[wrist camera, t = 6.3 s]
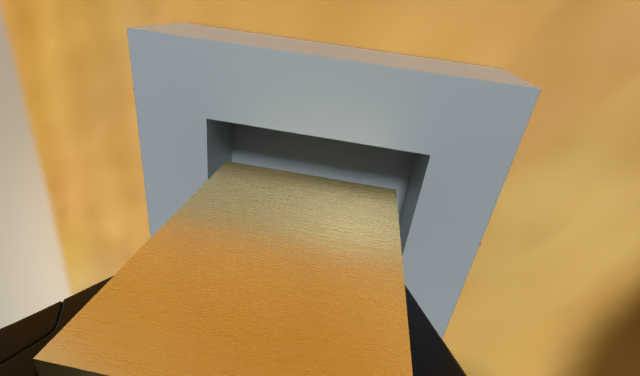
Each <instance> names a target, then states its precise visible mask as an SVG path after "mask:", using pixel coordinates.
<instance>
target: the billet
mask: <svg viewBox="0 0 640 376" xmlns="http://www.w3.org/2000/svg"><path fill="white" fill-rule="evenodd" d="M33 360H34V363H35V365H36V368H37V371H38V374H39V376H413V372H412V361H411V350H410V339H409V328H408V317H407V306H406V294H405V283H404V272H403V261H402V250H401V239H400V228H399V217H398V206H397V195H396V190H395V189H389V188H383V187H377V186H372V185H366V184H360V183H354V182H348V181H342V180H337V179H331V178H325V177H319V176H313V175H308V174H302V173H296V172H290V171H284V170H278V169H273V168H267V167H261V166H255V165H249V164H243V163H238V162H232V161H226V162H225V163H224V164H223V165H222V166H221V167H220V168H219V169H218V170H217V171H216V172H215V173H214V174H213V175H212V176H211V177H210V178H209V179H208V180H207V181H206V182H205V183H204V184H203V185H202V186H201V187H200V188H199V189H198V191H197V192H196V193H195V194H194V195H193V196H192V197H191V198H190V199H189V200H188V201H187V202H186V203H185V204H184V205H183V206H182V207H181V208H180V209H179V210H178V211H177V212H176V213H175V214H174V215H173V216H172V217H171V218H170V219H169V220H168V221H167V222H166V223H165V224H164V225H163V226H162V227H161V228H160V229H159V230H158V231H157V232H156V233H155V234H154V235H153V236H152V238H151V239H150V240H149V241H148V242H147V243H146V244H145V245H144V246H143V247H142V248H141V249H140V250H139V251H138V252H137V253H136V254H135V255H134V256H133V257H132V258H131V259H130V260H129V261H128V262H127V263H126V264H125V265H124V266H123V267H122V268H121V269H120V270H119V271H118V272H117V273H116V274H115V275H114V276H113V277H112V278H111V279H110V280H109V281H108V282H107V284H106V285H105V286H104V287H103V288H102V289H101V290H100V291H99V292H98V293H97V294H96V295H95V296H94V297H93V298H92V299H91V300H90V301H89V302H88V303H87V304H86V305H85V306H84V307H83V308H82V309H81V310H80V311H79V312H78V313H77V314H76V315H75V316H74V317H73V318H72V319H71V320H70V321H69V322H68V323H67V324H66V325H65V326H64V327H63V328H62V330H61V331H60V332H59V333H58V334H57V335H56V336H55V337H54V338H53V339H52V340H51V341H50V342H49V343H48V344H47V345H46V346H45V347H44V348H43V349H42V350H41V351H40V352H39V353H38V354H37V355H36V356H35V357H34V358H33Z"/></svg>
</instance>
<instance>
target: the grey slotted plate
mask: <svg viewBox="0 0 640 376" xmlns="http://www.w3.org/2000/svg"><path fill="white" fill-rule="evenodd" d="M127 33H128V42H129V51H130V60H131V68H132V77H133V86H134V95H135V103H136V112H137V121H138V130H139V139H140V147H141V156H142V165H143V174H144V182H145V191H146V200H147V209H148V218H149V226H150V235H151V238H152V236H153V235H154V234H155V233H156V232H157V231H158V230H159V229H160V228H161V227H162V226H163V225H164V224H165V223H166V222H167V221H168V220H169V219H170V218H171V217H172V216H173V215H174V214H175V213H176V212H177V211H178V210H179V209H180V208H181V207H182V206H183V205H184V204H185V203H186V202H187V201H188V200H189V199H190V198H191V197H192V196H193V195H194V194H195V193H196V192H197V191H198V189H199V188H200V187H201V186H202V185H203V184H204V183H205V182H206V181H207V180H208V179H209V178H210V177H211V176H212V175H213V174H214V173H215V172H216V171H217V170H218V169H219V168H220V167H221V166H222V165H223V164H224V163H225V162H226V161H232V162H238V163H243V164H249V165H255V166H261V167H267V168H273V169H278V170H284V171H290V172H296V173H302V174H308V175H313V176H319V177H325V178H331V179H337V180H342V181H348V182H354V183H360V184H366V185H372V186H377V187H383V188H389V189H395V190H396V195H397V206H398V217H399V228H400V239H401V250H402V261H403V272H404V283H405V285H406V287H407V288H408V290H409V291H410V293H411V294H412V296H413V297H414V298H415V300H416V301H417V303H418V304H419V306H420V307H421V309H422V310H423V312H424V313H425V315H426V316H427V318H428V319H429V321H430V322H431V324H432V325H433V327H434V328H435V330H436V331H437V333H438V334H439V336H440V337H441V338H442V339H443V336H444V333H445V331H446V328H447V326H448V323H449V321H450V318H451V316H452V313H453V311H454V308H455V306H456V303H457V301H458V298H459V296H460V293H461V290H462V288H463V285H464V283H465V280H466V278H467V275H468V273H469V270H470V268H471V265H472V263H473V260H474V258H475V255H476V253H477V250H478V247H479V245H480V242H481V240H482V237H483V235H484V232H485V230H486V227H487V225H488V222H489V220H490V217H491V215H492V212H493V210H494V207H495V204H496V202H497V199H498V197H499V194H500V192H501V189H502V187H503V184H504V182H505V179H506V177H507V174H508V172H509V169H510V166H511V164H512V161H513V159H514V156H515V154H516V151H517V149H518V146H519V144H520V141H521V139H522V136H523V134H524V131H525V129H526V126H527V123H528V121H529V118H530V116H531V113H532V111H533V108H534V106H535V103H536V101H537V98H538V96H539V93H540V91H541V88H539V87H537V86H535V85H533V84H531V83H529V82H527V81H525V80H523V79H521V78H519V77H517V76H515V75H513V74H511V73H510V72H508V71H506V70H504V69H502V68H495V67H488V66H481V65H474V64H467V63H460V62H453V61H446V60H439V59H432V58H426V57H419V56H412V55H405V54H398V53H391V52H384V51H377V50H370V49H363V48H356V47H349V46H343V45H336V44H329V43H322V42H315V41H308V40H301V39H294V38H287V37H280V36H273V35H266V34H260V33H253V32H246V31H239V30H232V29H225V28H218V27H211V26H204V25H197V24H190V23H174V24H163V25H152V26H141V27H130V28H127Z"/></svg>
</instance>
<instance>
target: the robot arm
mask: <svg viewBox="0 0 640 376" xmlns="http://www.w3.org/2000/svg"><path fill="white" fill-rule="evenodd" d="M112 277H113V276H112ZM112 277H110V278H108V279H106V280H104V281H102V282H99V283H97V284H95V285H93V286H91V287H89V288H87V289H85V290H83V291H81V292H79V293H77V294H75V295H72V296H70V297H68V298H66V299H64V301H63V302H61V301H60V302H58V303H56V304H54V305H52V306H49V307H47V308H45V309H43V310H41V311H39V312H37V313H35V314H33V315H30V316H28V317H26V318H24V319H22V320H19V321H17V322H15V323H13V324H11V325H8V326H6V327H4V328H1V329H0V376H39V374H38V371H37V368H36V365H35V363H34V360H33V358H34V357H35V356H36V355H37V354H38V353H39V352H40V351H41V350H42V349H43V348H44V347H45V346H46V345H47V344H48V343H49V342H50V341H51V340H52V339H53V338H54V337H55V336H56V335H57V334H58V333H59V332H60V331H61V330H62V328H63V327H64V326H65V325H66V324H67V323H68V322H69V321H70V320H71V319H72V318H73V317H74V316H75V315H76V314H77V313H78V312H79V311H80V310H81V309H82V308H83V307H84V306H85V305H86V304H87V303H88V302H89V301H90V300H91V299H92V298H93V297H94V296H95V295H96V294H97V293H98V292H99V291H100V290H101V289H102V288H103V287H104V286H105V285H106V284H107V282H108V281H109V280H110V279H111V278H112ZM405 294H406V306H407V317H408V328H409V339H410V350H411V361H412V372H413V376H466V374H465V373H464V371H463V370H462V368H461V367H460V365H459V364H458V362H457V361H456V359H455V358H454V356H453V355H452V353H451V352H450V350H449V349H448V347H447V346H446V344H445V343H444V341H443V340H442V338H441V337H440V336H439V334H438V333H437V331H436V330H435V328H434V327H433V325H432V324H431V322H430V321H429V319H428V318H427V316H426V315H425V313H424V312H423V310H422V309H421V307H420V306H419V304H418V303H417V301H416V300H415V298H414V297H413V296H412V294H411V293H410V291H409V290H408V288H407V287H406V285H405Z"/></svg>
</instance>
